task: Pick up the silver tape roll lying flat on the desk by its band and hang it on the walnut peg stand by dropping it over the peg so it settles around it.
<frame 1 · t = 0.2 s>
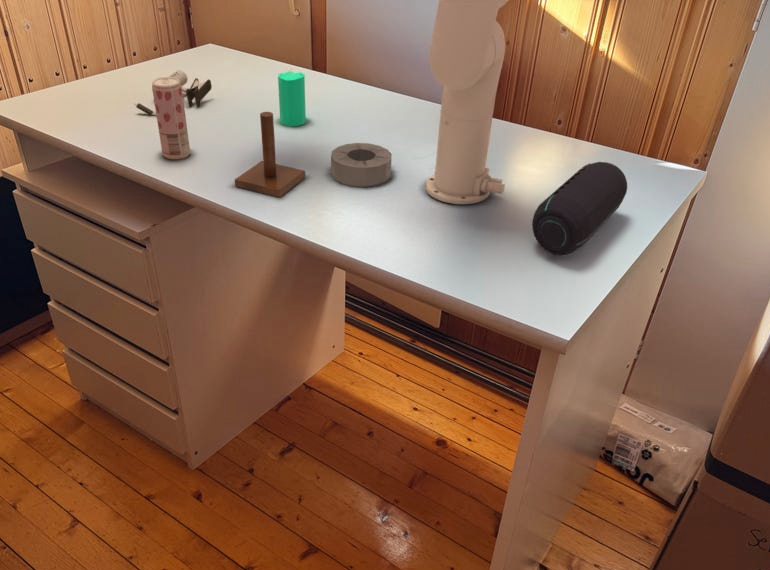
tape: (361, 173, 144), on the table
beverage can: (176, 155, 149), on the table
rack: (270, 182, 140), on the table
candle: (293, 122, 165), on the table
portable speaker: (574, 232, 128), on the table
clip-on lamp: (173, 106, 171), on the table
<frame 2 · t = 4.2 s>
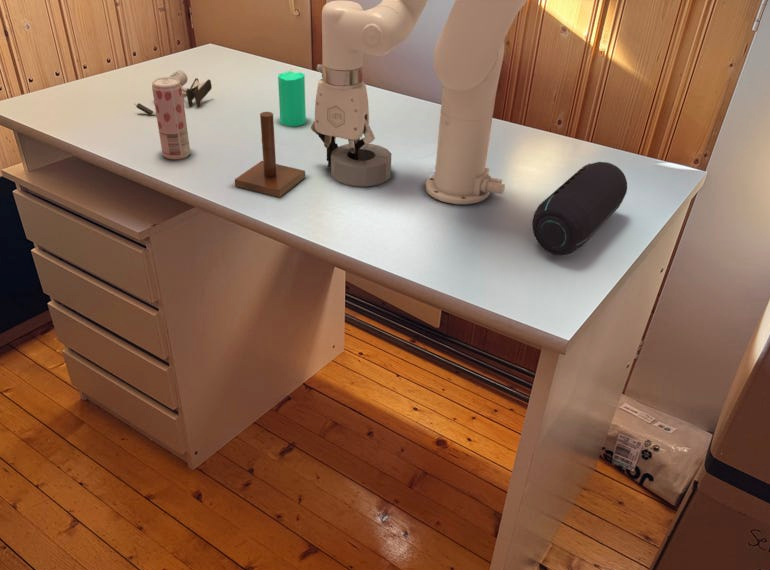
hand: (342, 166, 145), 1 cm above the table, tool pointing down, fingers closed on tape, 3 cm apart
tape: (361, 173, 144), on the table, touching gripper
everything else where it was.
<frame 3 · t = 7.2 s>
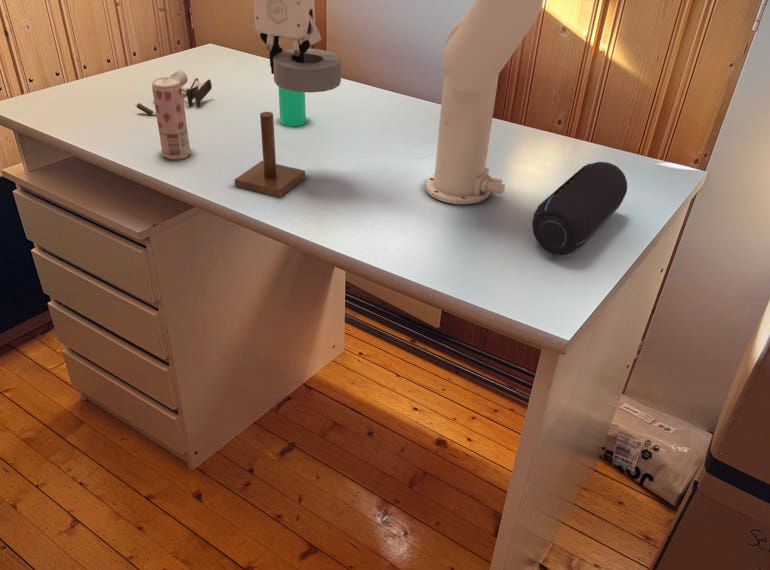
hand: (287, 73, 131), 20 cm above the table, tool pointing down, fingers closed on tape, 3 cm apart
tape: (307, 81, 130), point 19 cm above the table, touching gripper
everything else where it was.
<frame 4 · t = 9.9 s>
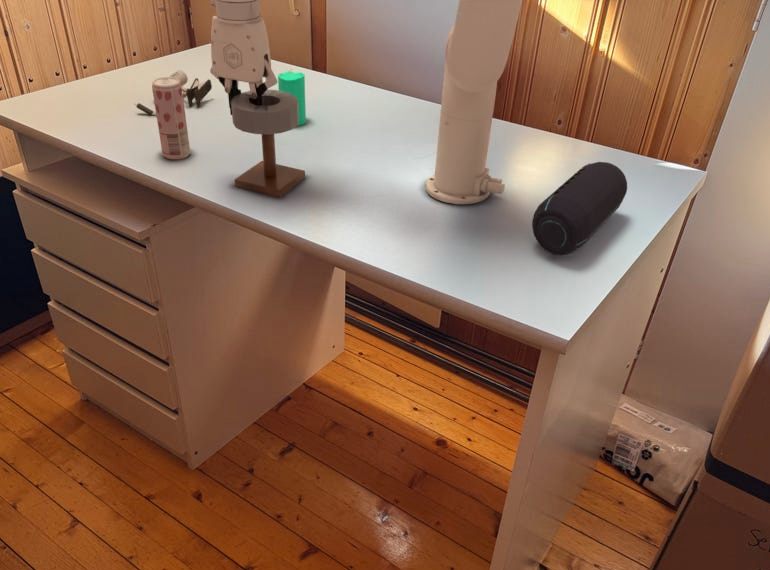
hand: (246, 114, 133), 13 cm above the table, tool pointing down, fingers closed on tape, 3 cm apart
tape: (266, 122, 132), point 12 cm above the table, touching gripper
everything else where it was.
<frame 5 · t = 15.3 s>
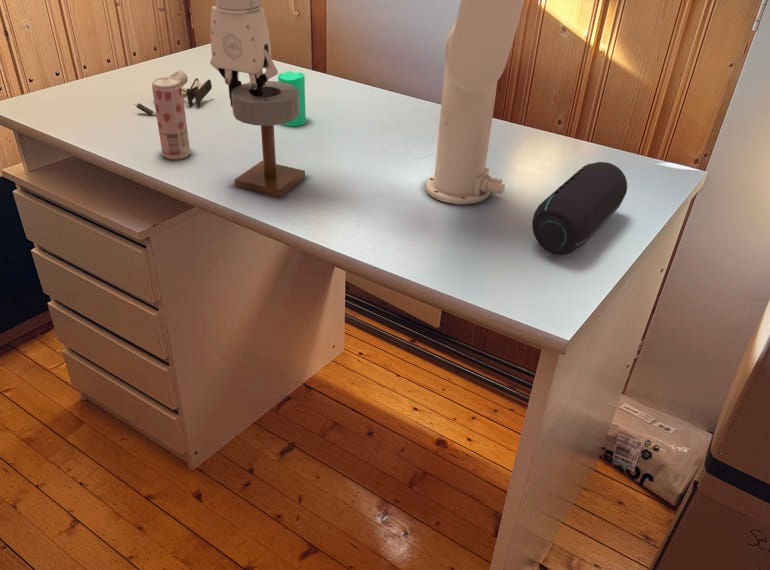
hand: (246, 106, 132), 14 cm above the table, tool pointing down, fingers closed on tape, 3 cm apart
tape: (266, 113, 131), point 14 cm above the table, touching gripper
everything else where it was.
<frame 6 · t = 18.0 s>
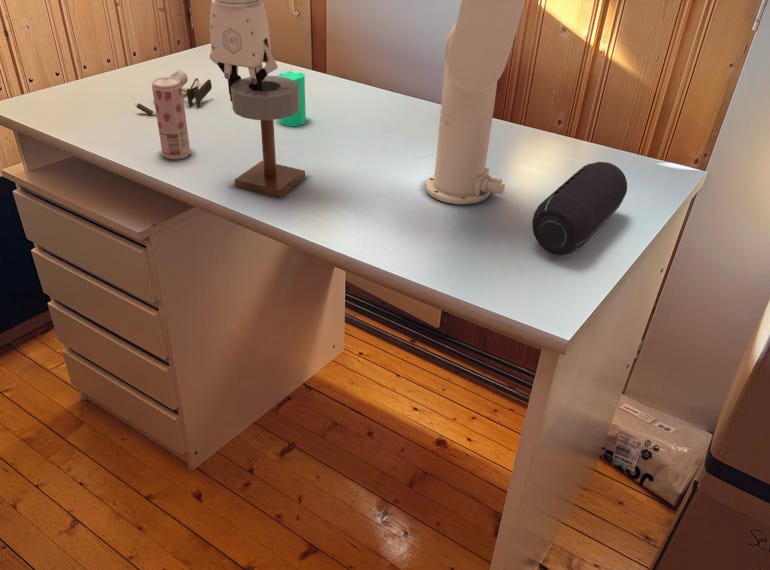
hand: (246, 100, 132), 15 cm above the table, tool pointing down, fingers closed on tape, 3 cm apart
tape: (266, 108, 131), point 15 cm above the table, touching gripper
everything else where it was.
when the fingers open (15 cm above the table, at t = 20.4 s): tape drops 13 cm, resting on rack.
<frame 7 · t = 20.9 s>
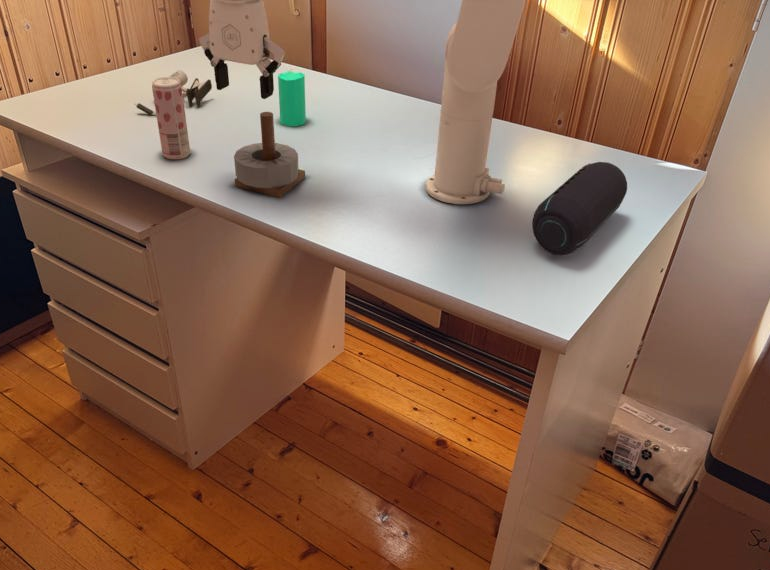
hand: (244, 92, 131), 17 cm above the table, tool pointing down, fingers open, 9 cm apart
tape: (267, 174, 139), point 1 cm above the table, touching rack
everything else where it was.
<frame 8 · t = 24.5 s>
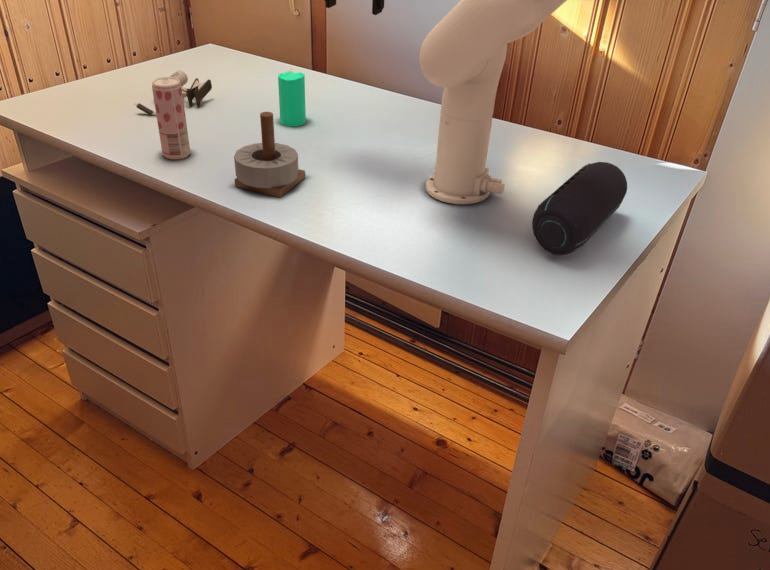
hand: (353, 9, 134), 28 cm above the table, tool pointing down, fingers open, 9 cm apart
nothing on the table moved.
at the end: tape 0.6 cm from the rack (horizontally); tape point 1.5 cm above the table; tape tilted 0° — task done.
